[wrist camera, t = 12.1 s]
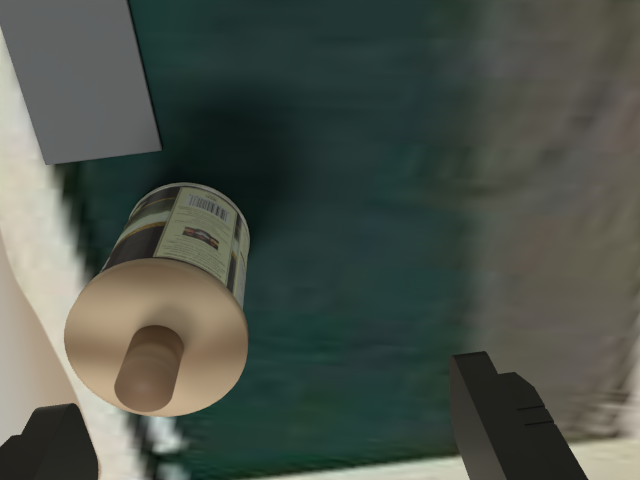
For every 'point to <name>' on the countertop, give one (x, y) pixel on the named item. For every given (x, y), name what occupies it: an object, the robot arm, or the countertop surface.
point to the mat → (80, 77)
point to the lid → (157, 337)
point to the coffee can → (188, 233)
